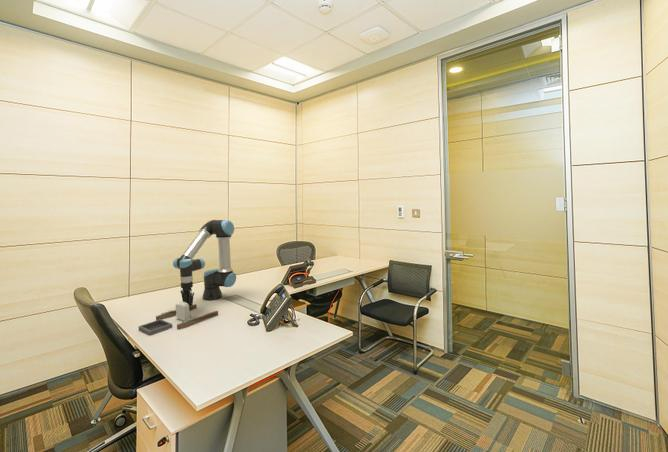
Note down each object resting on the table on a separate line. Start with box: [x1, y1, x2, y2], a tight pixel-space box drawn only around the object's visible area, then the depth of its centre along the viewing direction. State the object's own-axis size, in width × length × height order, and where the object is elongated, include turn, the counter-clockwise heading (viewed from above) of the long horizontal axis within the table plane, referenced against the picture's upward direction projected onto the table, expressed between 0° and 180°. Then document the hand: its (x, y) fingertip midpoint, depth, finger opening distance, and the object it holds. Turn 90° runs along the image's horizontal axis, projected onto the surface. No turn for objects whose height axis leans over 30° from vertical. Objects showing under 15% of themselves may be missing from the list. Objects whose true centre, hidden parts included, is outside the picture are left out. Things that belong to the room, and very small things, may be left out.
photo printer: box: [175, 300, 191, 321], centre depth 221 cm, size 10×4×12 cm, turn 63°
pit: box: [137, 319, 173, 336], centre depth 206 cm, size 14×14×2 cm
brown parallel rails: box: [155, 303, 219, 330], centre depth 224 cm, size 28×30×4 cm
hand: (188, 314), depth 225 cm, fingers closed
